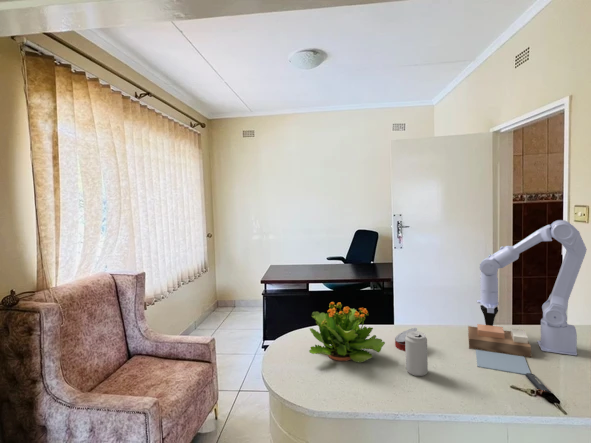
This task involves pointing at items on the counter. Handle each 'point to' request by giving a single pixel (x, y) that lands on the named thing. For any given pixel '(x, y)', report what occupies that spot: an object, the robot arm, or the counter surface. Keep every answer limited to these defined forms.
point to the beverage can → (416, 353)
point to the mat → (502, 362)
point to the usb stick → (536, 382)
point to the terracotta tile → (490, 331)
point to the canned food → (402, 339)
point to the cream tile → (519, 336)
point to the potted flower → (344, 335)
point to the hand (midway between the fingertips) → (489, 325)
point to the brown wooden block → (497, 343)
